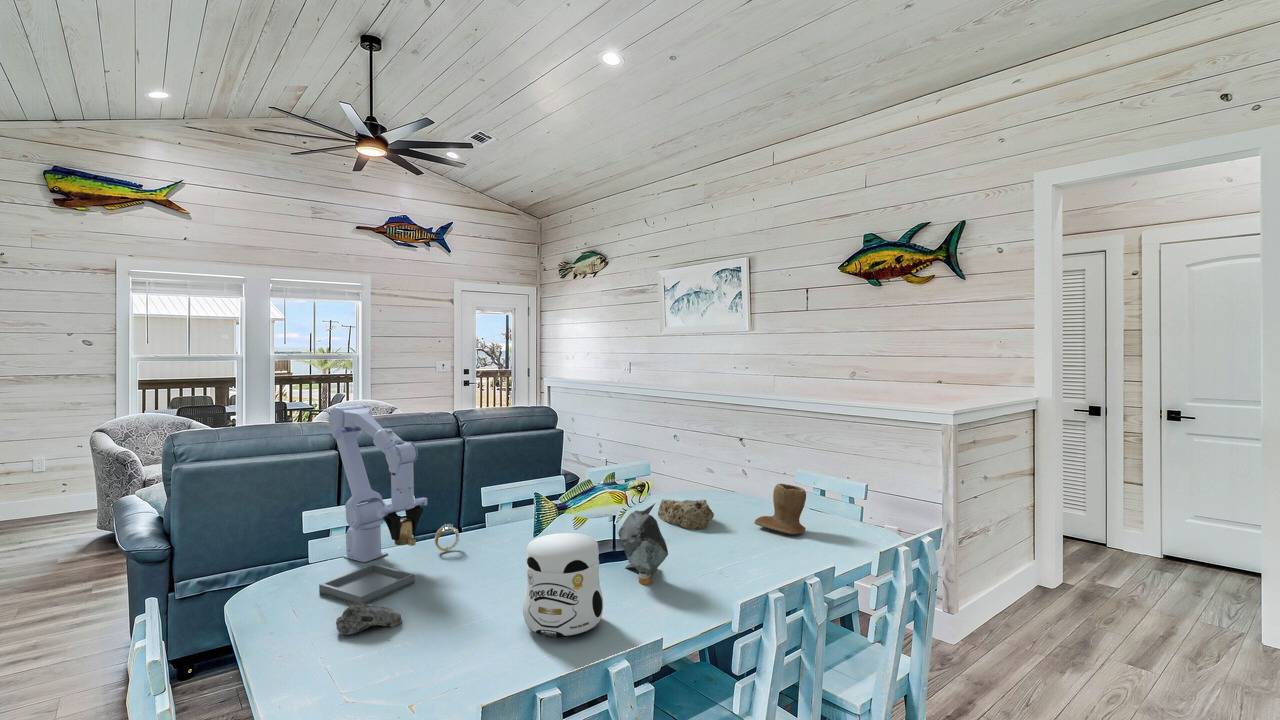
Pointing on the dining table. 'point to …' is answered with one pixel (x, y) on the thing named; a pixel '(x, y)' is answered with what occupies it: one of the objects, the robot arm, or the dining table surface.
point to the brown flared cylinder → (785, 510)
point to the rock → (686, 513)
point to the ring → (445, 528)
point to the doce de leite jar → (562, 585)
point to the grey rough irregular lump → (366, 618)
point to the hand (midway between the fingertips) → (403, 536)
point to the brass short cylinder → (405, 533)
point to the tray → (367, 584)
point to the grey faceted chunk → (643, 544)
